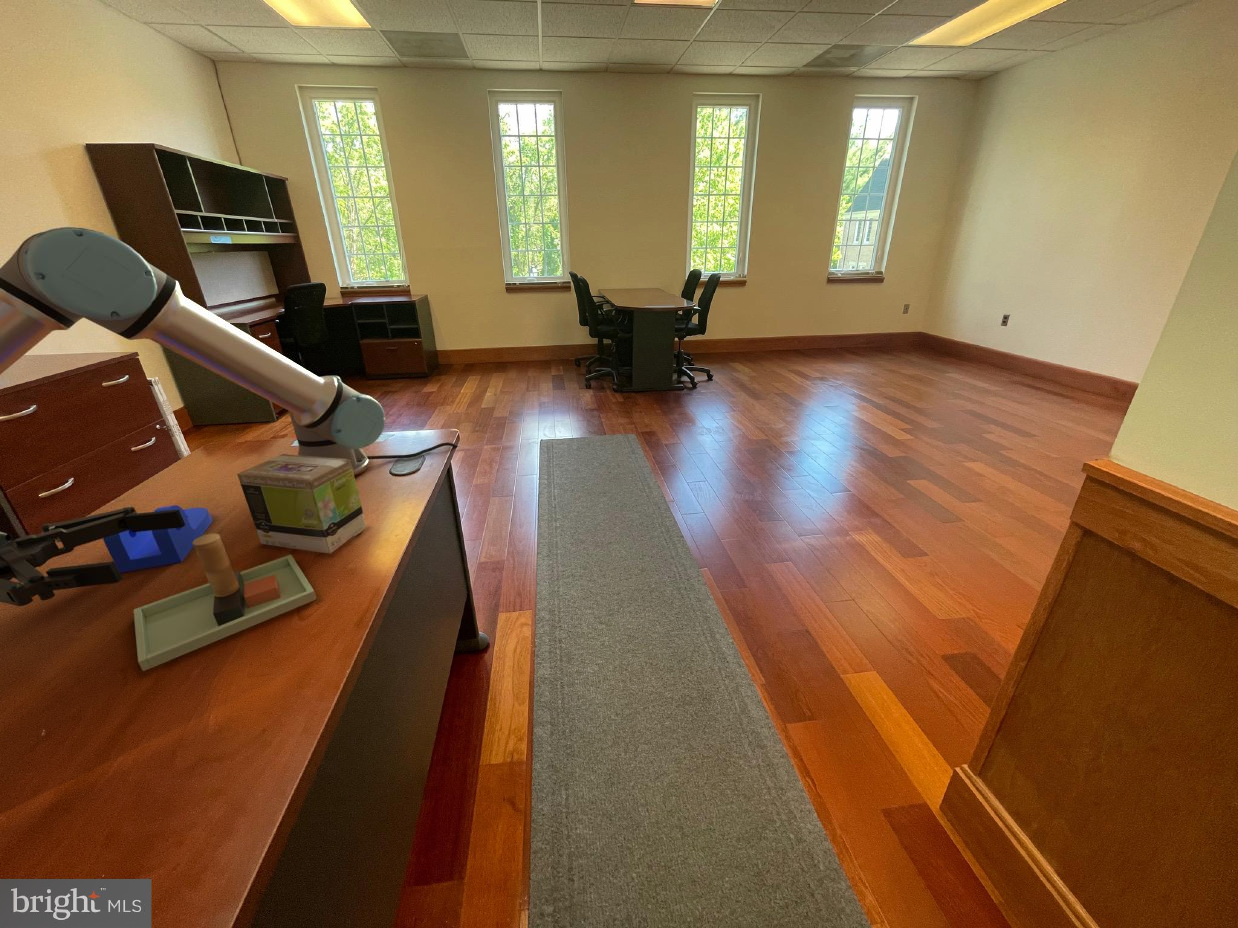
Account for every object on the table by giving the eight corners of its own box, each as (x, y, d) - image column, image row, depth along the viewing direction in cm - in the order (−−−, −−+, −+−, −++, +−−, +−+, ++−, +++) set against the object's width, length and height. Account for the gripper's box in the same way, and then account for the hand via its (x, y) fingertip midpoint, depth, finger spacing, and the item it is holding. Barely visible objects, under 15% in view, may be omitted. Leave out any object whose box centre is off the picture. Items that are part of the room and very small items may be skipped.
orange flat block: (278, 584, 76) (275, 574, 75) (280, 597, 73) (276, 587, 72) (247, 594, 73) (243, 583, 73) (248, 608, 71) (244, 597, 70)
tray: (294, 564, 82) (290, 554, 81) (317, 601, 73) (314, 590, 72) (139, 620, 69) (133, 609, 68) (144, 674, 60) (137, 662, 59)
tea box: (368, 527, 93) (352, 458, 87) (330, 556, 84) (308, 481, 78) (303, 519, 95) (282, 451, 90) (259, 546, 86) (233, 472, 80)
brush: (244, 583, 76) (220, 521, 71) (245, 618, 68) (218, 551, 64) (220, 590, 74) (194, 527, 70) (218, 627, 67) (189, 559, 62)
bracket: (181, 562, 82) (161, 516, 78) (119, 572, 79) (96, 526, 75) (218, 513, 97) (203, 474, 94) (167, 521, 94) (149, 480, 91)
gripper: (53, 536, 74) (209, 520, 79) (-138, 657, 52) (95, 626, 56) (29, 493, 71) (193, 480, 76) (-184, 602, 49) (65, 574, 53)
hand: (151, 542), depth 66 cm, fingers open, 13 cm apart
